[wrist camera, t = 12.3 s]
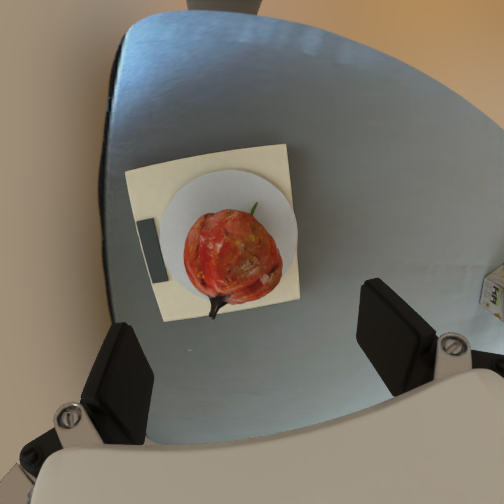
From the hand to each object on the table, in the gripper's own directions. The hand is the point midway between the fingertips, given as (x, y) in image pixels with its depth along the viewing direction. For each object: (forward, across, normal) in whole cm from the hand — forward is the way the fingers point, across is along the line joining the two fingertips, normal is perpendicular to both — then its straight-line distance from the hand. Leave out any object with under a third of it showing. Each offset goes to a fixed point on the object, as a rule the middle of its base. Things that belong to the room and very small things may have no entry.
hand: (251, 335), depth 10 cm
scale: (+17, +1, +1) cm, 17 cm away
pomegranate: (+14, 0, +1) cm, 14 cm away
